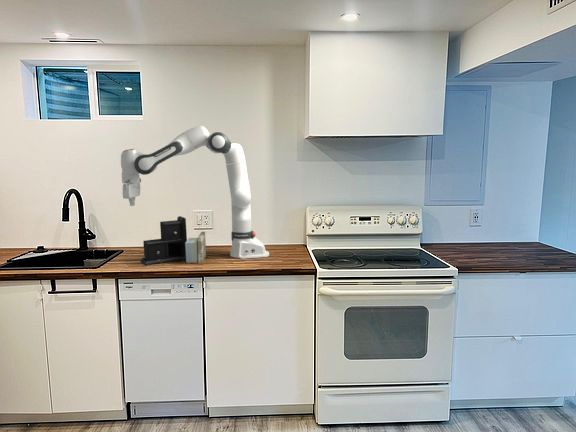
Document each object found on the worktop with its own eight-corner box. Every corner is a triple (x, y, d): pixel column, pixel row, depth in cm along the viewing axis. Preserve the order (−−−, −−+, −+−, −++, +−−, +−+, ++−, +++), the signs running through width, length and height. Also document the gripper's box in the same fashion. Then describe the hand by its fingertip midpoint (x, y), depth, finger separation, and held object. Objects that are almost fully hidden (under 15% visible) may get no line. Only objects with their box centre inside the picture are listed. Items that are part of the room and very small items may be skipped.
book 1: (195, 256, 233) (194, 237, 232) (191, 262, 220) (191, 242, 218) (189, 257, 233) (189, 238, 232) (186, 262, 219) (185, 242, 218)
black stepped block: (144, 265, 214) (142, 221, 211) (140, 261, 223) (138, 219, 220) (188, 260, 226) (186, 218, 223) (182, 256, 235) (180, 215, 232)
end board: (206, 255, 236) (205, 231, 234) (202, 263, 218) (201, 237, 216) (202, 255, 236) (201, 231, 234) (198, 263, 218) (197, 237, 216)
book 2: (200, 256, 234) (199, 237, 232) (197, 262, 220) (196, 242, 218) (195, 256, 233) (194, 237, 232) (191, 262, 220) (191, 242, 218)
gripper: (131, 180, 208) (132, 207, 210) (141, 179, 228) (143, 203, 230) (118, 180, 207) (120, 207, 209) (130, 179, 228) (131, 203, 229)
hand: (132, 205), depth 220 cm, fingers closed
